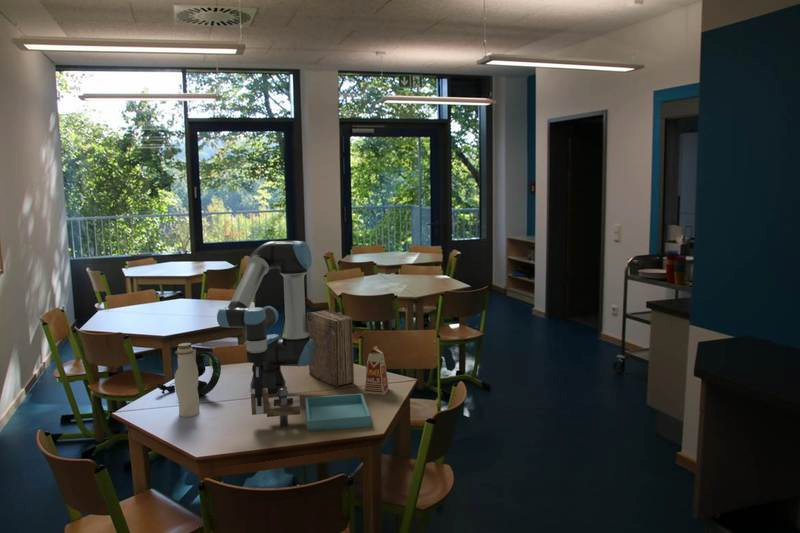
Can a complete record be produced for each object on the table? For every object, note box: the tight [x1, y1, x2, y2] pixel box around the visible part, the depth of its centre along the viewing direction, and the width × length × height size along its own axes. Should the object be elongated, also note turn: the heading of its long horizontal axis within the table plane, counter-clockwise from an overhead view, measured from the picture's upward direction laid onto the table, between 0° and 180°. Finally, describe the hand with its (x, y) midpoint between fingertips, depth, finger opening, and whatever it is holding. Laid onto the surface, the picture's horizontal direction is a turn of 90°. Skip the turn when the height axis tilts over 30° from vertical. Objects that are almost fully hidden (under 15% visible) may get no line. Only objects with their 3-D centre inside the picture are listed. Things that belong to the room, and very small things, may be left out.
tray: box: [304, 392, 372, 433], centre depth 255 cm, size 26×23×4 cm
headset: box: [156, 351, 222, 397], centre depth 283 cm, size 18×14×29 cm
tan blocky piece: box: [250, 388, 301, 418], centre depth 247 cm, size 12×18×8 cm
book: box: [306, 308, 355, 389], centre depth 300 cm, size 25×9×30 cm, turn 35°
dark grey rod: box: [276, 387, 289, 427], centre depth 247 cm, size 4×4×14 cm
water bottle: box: [174, 342, 200, 418], centre depth 261 cm, size 10×9×28 cm
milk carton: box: [363, 345, 389, 395], centre depth 283 cm, size 9×9×20 cm
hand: (260, 410), depth 246 cm, fingers closed on tan blocky piece, 5 cm apart
